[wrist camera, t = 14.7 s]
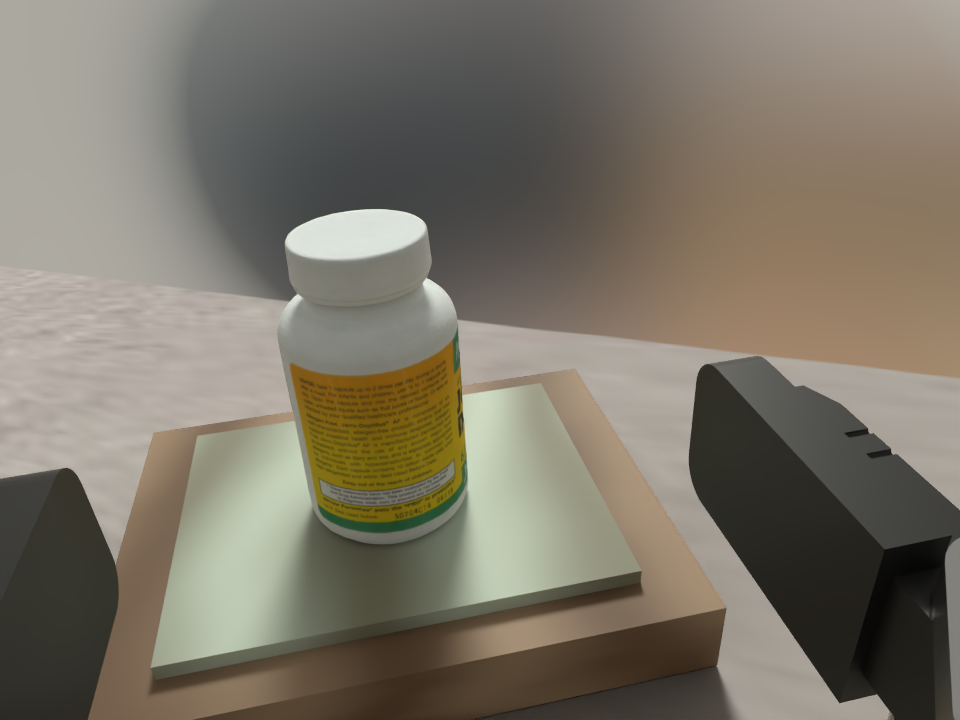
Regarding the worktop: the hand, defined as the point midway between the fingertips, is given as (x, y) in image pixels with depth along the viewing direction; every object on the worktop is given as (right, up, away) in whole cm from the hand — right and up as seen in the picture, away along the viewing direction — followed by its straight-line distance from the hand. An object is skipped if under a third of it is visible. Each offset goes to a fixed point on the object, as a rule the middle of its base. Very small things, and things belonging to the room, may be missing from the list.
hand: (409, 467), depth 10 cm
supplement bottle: (-2, -3, +16) cm, 17 cm away
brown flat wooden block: (-2, -6, +18) cm, 19 cm away
